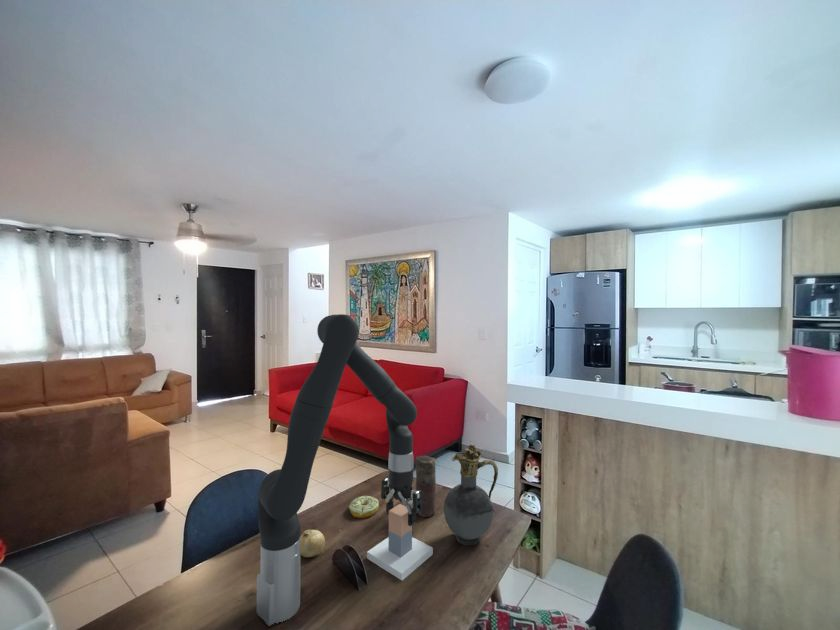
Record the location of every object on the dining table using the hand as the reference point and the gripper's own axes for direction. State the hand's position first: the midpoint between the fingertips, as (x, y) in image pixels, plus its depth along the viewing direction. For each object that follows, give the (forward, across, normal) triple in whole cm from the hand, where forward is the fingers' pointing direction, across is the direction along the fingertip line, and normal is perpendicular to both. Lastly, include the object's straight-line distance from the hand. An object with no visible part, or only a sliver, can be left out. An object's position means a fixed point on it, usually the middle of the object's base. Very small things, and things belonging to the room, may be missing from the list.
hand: (400, 519), depth 109 cm
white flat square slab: (+11, 0, 0) cm, 11 cm away
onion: (+12, -22, -16) cm, 30 cm away
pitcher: (+11, +12, +22) cm, 28 cm away
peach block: (+3, 0, 0) cm, 3 cm away
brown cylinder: (+11, -9, +24) cm, 28 cm away
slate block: (+9, 0, 0) cm, 9 cm away
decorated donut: (+12, -27, +10) cm, 31 cm away
